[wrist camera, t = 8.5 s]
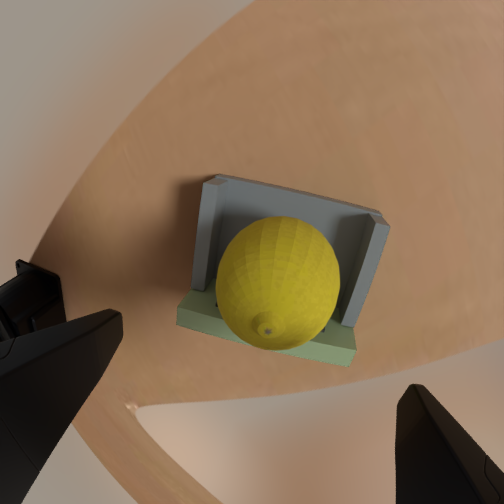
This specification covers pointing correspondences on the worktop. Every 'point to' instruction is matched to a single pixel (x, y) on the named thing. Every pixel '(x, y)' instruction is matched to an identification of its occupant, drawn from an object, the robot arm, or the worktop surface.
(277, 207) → the miniature couch
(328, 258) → the lemon
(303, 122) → the worktop surface
